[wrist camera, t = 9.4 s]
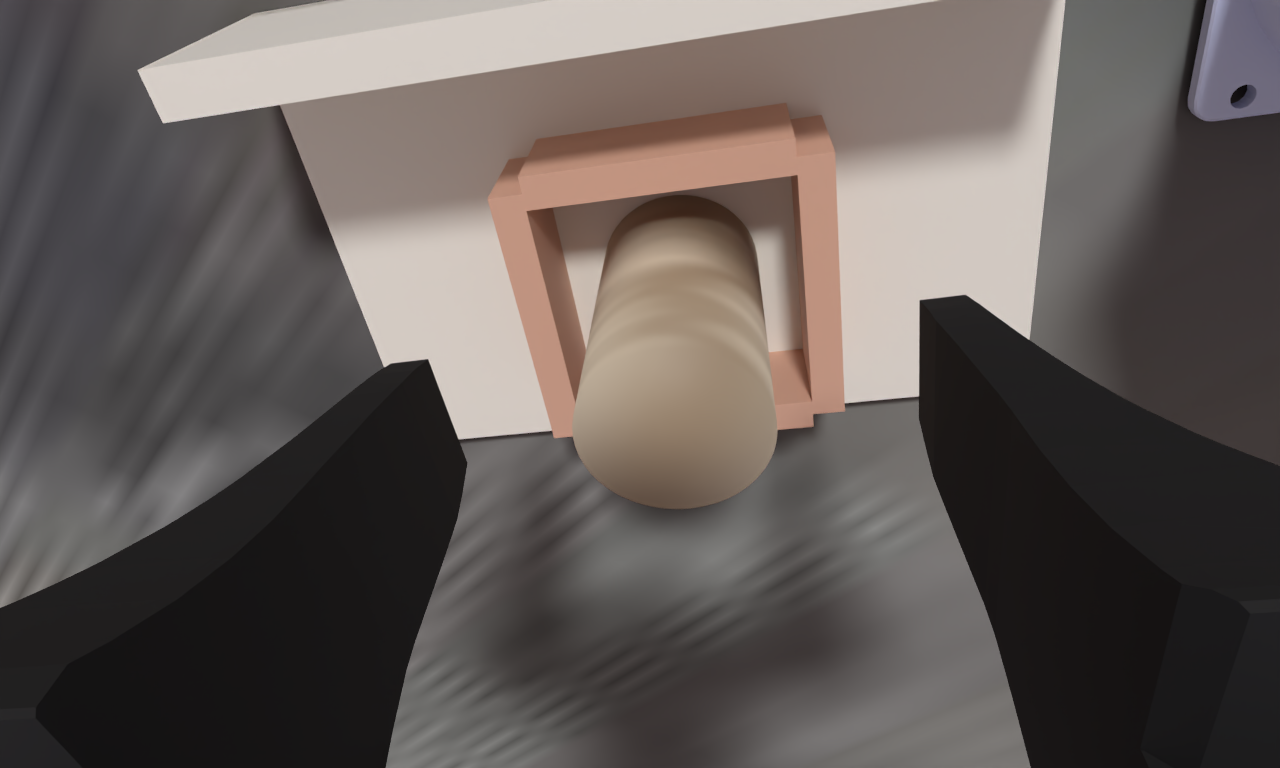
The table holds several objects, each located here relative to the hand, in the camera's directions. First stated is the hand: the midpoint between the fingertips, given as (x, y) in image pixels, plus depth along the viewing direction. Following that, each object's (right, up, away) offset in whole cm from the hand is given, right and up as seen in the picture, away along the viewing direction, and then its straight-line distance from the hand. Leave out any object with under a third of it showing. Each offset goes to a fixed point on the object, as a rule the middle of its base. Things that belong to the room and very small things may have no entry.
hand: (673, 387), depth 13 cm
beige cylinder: (+1, +3, +10) cm, 10 cm away
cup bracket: (0, +5, +9) cm, 11 cm away
